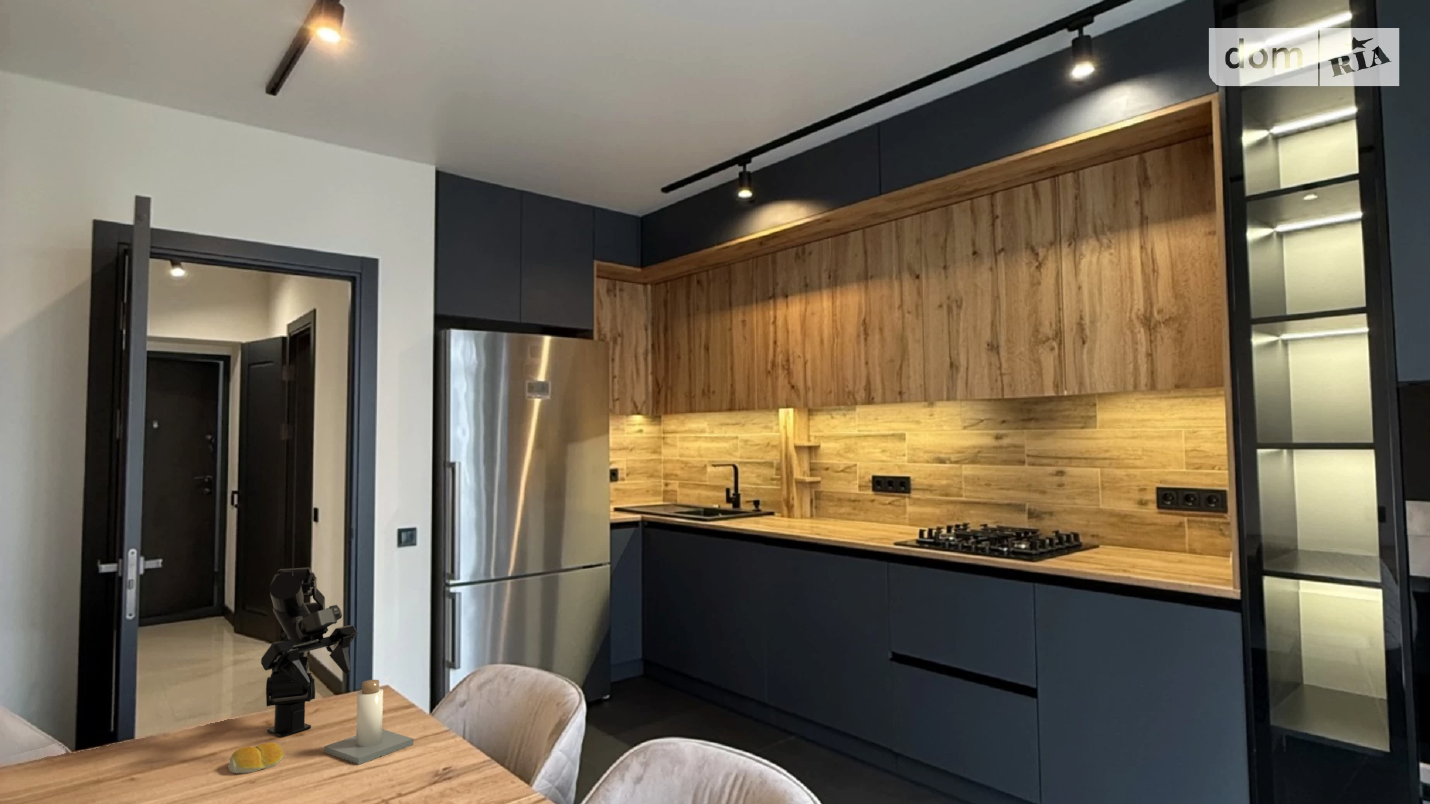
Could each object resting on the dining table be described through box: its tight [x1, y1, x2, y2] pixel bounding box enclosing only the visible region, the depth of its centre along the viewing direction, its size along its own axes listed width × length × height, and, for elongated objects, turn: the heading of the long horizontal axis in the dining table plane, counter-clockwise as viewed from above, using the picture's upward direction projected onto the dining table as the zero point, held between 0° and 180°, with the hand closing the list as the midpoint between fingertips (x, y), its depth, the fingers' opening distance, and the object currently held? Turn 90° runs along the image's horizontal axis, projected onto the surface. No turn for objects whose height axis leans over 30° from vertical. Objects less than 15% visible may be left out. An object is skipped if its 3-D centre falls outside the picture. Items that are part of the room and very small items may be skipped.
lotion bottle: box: [355, 679, 384, 747], centre depth 152 cm, size 5×5×12 cm
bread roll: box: [227, 742, 285, 775], centre depth 144 cm, size 8×9×4 cm
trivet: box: [323, 728, 414, 766], centre depth 152 cm, size 12×12×1 cm
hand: (329, 678), depth 154 cm, fingers open, 9 cm apart
